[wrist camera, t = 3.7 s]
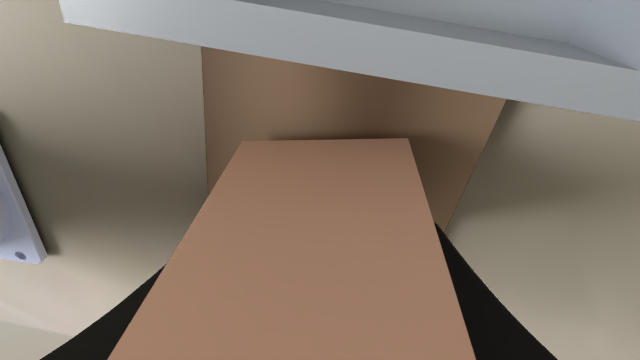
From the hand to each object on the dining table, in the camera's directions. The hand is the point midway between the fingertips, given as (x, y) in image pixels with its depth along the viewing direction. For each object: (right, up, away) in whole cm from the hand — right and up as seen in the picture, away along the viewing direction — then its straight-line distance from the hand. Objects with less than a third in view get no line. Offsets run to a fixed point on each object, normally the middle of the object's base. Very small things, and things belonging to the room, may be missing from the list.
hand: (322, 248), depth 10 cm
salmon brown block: (0, +1, +2) cm, 2 cm away
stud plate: (0, +2, +3) cm, 4 cm away
